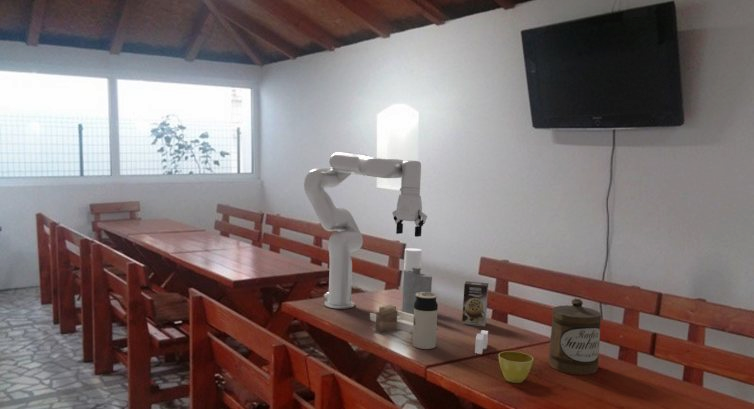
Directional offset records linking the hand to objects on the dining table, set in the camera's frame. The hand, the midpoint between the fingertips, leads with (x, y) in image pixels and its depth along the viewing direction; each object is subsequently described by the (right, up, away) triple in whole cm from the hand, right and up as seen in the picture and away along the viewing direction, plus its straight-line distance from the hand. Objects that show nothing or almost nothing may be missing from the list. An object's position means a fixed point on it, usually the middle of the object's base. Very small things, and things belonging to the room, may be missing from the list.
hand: (408, 234), depth 247 cm
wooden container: (+50, -40, -49) cm, 80 cm away
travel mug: (+4, -37, -34) cm, 50 cm away
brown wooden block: (-9, -34, -18) cm, 40 cm away
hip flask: (+3, -33, +6) cm, 34 cm away
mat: (-9, -35, -18) cm, 40 cm away
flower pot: (+28, -40, -63) cm, 80 cm away
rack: (-3, -34, -8) cm, 35 cm away
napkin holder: (+24, -38, -34) cm, 56 cm away
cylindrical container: (+2, -32, +19) cm, 37 cm away
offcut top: (-8, -31, -2) cm, 32 cm away
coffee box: (+26, -35, -2) cm, 43 cm away
